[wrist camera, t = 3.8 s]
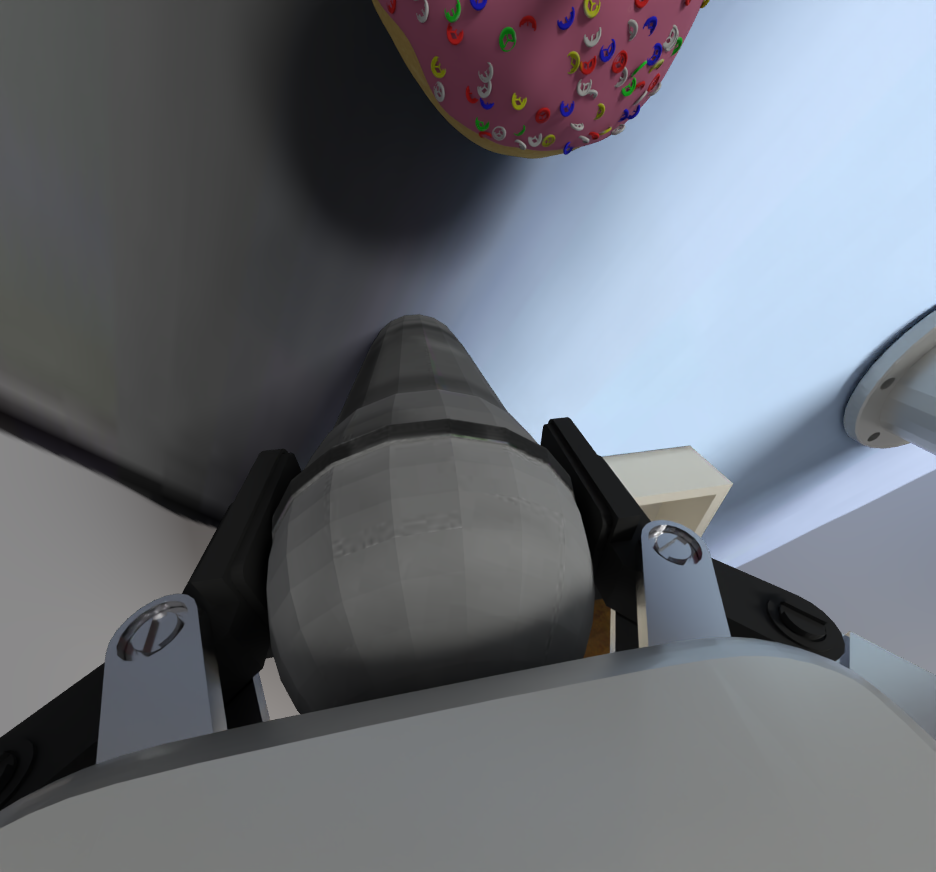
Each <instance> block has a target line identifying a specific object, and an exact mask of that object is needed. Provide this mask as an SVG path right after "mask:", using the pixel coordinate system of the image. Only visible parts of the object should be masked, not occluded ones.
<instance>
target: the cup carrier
mask: <svg viewBox="0 0 936 872" xmlns="http://www.w3.org/2000/svg"><path fill="white" fill-rule="evenodd" d="M602 458H603V459H604V460H605V461H606V463H607V464H608V465H609V466H610V468H611V469H612V470H613V472H614V473H615V474H616V476H617V477H618V478H619V480H620V481H621V482H622V484H623V485H624V486H625V488H626V489H627V490H628V492H629V493H630V494H631V496H632V497H633V498H634V499H635V501H636V502H637V503H638V505H639V506H640V507H641V509H642V510H643V511H644V513H645V514H646V515H647V517H648V518H649V519H650V521H651V522H652V521H656V520H667V521H672V522H675V523H679V524H681V525H683V526H685V527H687V528H689V529H691V530H692V531H693V532H695V533H696V534H697V535H698V536H700V538H701V536H702V534H703V533H704V531H705V530H706V528H707V526H708V525H709V523H710V521H711V520H712V518H713V516H714V515H715V513H716V511H717V510H718V508H719V506H720V505H721V503H722V501H723V500H724V498H725V496H726V495H727V493H728V491H729V490H730V488H731V486H732V485H733V483H732V482H731V481H729V480H728V479H727V478H726V477H725V476H724V475H723V474H722V473H720V472H719V471H718V470H717V469H716V468H715V467H714V466H712V465H711V464H710V463H709V462H708V461H707V460H706V459H704V458H703V457H702V456H701V455H700V454H699V453H698V452H697V451H695V450H694V449H693V448H692V447H691V446H684V447H676V448H668V449H660V450H652V451H644V452H636V453H628V454H621V455H613V456H605V457H602Z"/></svg>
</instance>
